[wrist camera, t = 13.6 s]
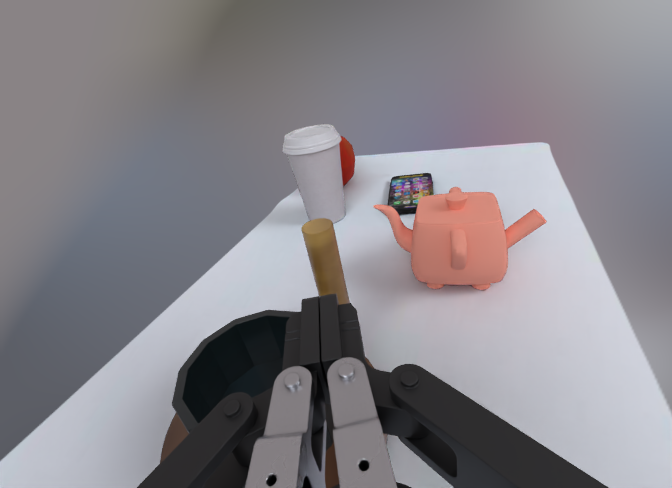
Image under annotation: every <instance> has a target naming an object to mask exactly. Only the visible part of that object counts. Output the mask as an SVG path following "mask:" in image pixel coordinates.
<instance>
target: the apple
mask: <svg viewBox="0 0 672 488" xmlns="http://www.w3.org/2000/svg"><path fill="white" fill-rule="evenodd" d="M341 139H342V140H341V142H340V143H339V147H340V159H341V170H342V181H343V186H344V185H345V184H346V183H347V182H348V181H349V180H350V179H351V178H352V176H353V174H354V166H355V156H354V152H353V148H352V145H351V144H350V143H349V142H348V141H347V140H346V139H345V138H344V137H342V136H341Z"/></svg>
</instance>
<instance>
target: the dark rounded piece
mask: <svg viewBox="0 0 672 488" xmlns="http://www.w3.org/2000/svg"><path fill="white" fill-rule="evenodd" d="M302 233H303V237H304V241H305V245H306V248H307V252H308V256H309V260H310V263H311V267H312V271H313V275H314V279H315V282H316V286H317V290H318V294H319V297H320V296H323V295H329V294H334V293H337V297H338V301H339V305H341V304H346V303H350V302H349V297H348V293H347V288H346V283H345V279H344V274H343V269H342V264H341V260H340V255H339V250H338V246H337V241H336V236H335V231H334V227H333V222H332V221H331V220H330V219H326V218H319V219H314V220H311V221H309V222H307V223H305V224H304V225H303V226H302ZM292 313H297V312H290V311H276V310H265V311H262V312H259V313H255V314H252V315H248V316H245V317H241V318H238V319H235V320H233V321H231V322H230V323H228V324H227V325H225V326H224V327H222V328H221V329H219V330H218V331H216V332H215V333H213V334H212V335H210V336H209V337H207V338H206V339H204V340H203V341H202V342H201V343H200V344H199V346H198V347H197V348H196V350H195V351H194V352H193V353H192V355H191V356H190V357H189V358H188V360H187V361H186V362H185V364H184V365H183V366H182V367H181V369H180V371H179V373H178V378H177V382H176V387H175V392H174V397H173V401H172V406H173V408H174V409H175V411H176V414H175V416H174V418H173V420H172V422H171V424H170V427H169V429H168V432H167V434H166V437H165V441H164V445H163V448H162V454H161V460H160V463H161V462H162V461H163V460H164V459H165V458H166V457H167V456H168V455H169V454H170V453H171V452H172V451H173V450H174V449H175V448H176V447H177V446H178V445H179V444H180V443H181V442H182V441H183V440H184V438H185V437H186V436H187V435H188V434H189V433H190V432H191V431H192V430H193V429H194V428H195V427H196V426H197V425H198V424H199V423H200V422H201V421H202V420H203V419H204V418H205V417H206V416H207V415H208V414H209V413H210V412H211V411H212V410H213V408H214V407H215V406H216V405H217V404H218V403H219V402H220V401H221V400H222V399H224V398H225V397H226V396H228V395H230V394H232V393H236V392H244V393H247V394H248V395H250V396H251V398H252V397H254V396H257V395H259V394H261V393H263V392H265V391H267V390H268V389H270V388H271V387H272V386H274V382H275V380H276V378H277V376H278V375H279V374H280V373H281V372H282V366H283V355H284V344H285V334H286V323H287V321H288V319H289V317H290V316H291V314H292ZM365 360H366V362H367V363H368V365H370V366H371V367H372V368H374V367H373V366H372V364H371V363H370V362H369V360H368V359H367V358H366V357H365ZM325 413H326V417H325V419H326V423H327V430H326V456H325V485H326V488H331V487H333V486H335V485H338V484H339V476H338V469H337V461H336V453H335V446H334V438H333V428H334V423H333V415H332V408H331V404H326V405H325ZM383 435H384V439H385V443H386V444H387V435H388V434H384V433H383Z"/></svg>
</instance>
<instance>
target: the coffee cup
mask: <svg viewBox="0 0 672 488" xmlns="http://www.w3.org/2000/svg"><path fill="white" fill-rule="evenodd" d="M341 140H342V139H341V136H340V135H339V133H338V132H337V131H336V130H335V128H334V126H333V125H327V124H323V125H314V126H309V127H304V128H301V129H297V130H294V131H292V132H290V133H288V134H286V135H285V142H284V144H283V153H285V154H287V157H288V159H289V162H290V165H291V168H292V171H293V173H294V176H295V179H296V182H297V185H298V188H299V191H300V194H301V197H302V199H303V202H304V205H305V208H306V211H307V214H308V217H309V220H310V221H311V220H314V219H319V218H326V219H330V220H331V221H332V222H333V223H336V222H338V221H340V220H341V219H343V218H344V216H345V214H346V213H345V202H344V192H343V181H342V170H341V159H340V147H339V143H340V142H341Z"/></svg>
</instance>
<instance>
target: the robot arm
mask: <svg viewBox="0 0 672 488" xmlns="http://www.w3.org/2000/svg"><path fill="white" fill-rule="evenodd" d="M326 404H331V408H332V415H333V423H334V428H333V438H334V446H335V453H336V461H337V469H338V476H339V484H338V485H335V486H333V487H331V488H411V487H409V486H407V485H404V484H401V483H398V482H396V481H395V477H394V473H393V470H392V466H391V462H390V458H389V454H388V450H387V447H386V443H385V439H384V435H383V433H384V434H389V435H395V436H398V438H399V439H400V441H401V442H402V443H404V444H405V445H406V446H407V447H408V448H409V449H410V450H412V451H413V452H414V453H415V454H416V455H417V456H419V457H420V458H421V459H422V460H423V461H424V462H425V463H427V464H428V465H429V466H430V467H431V468H432V469H433V470H435V471H436V472H437V473H438V474H439V475H440V476H442V477H443V478H444V479H445V480H446V481H447V482H448V483H450V484H451V485H452V486H453V487H454V488H608V487H607V486H605V485H604V484H602V483H600V482H599V481H597V480H596V479H594V478H593V477H591V476H590V475H588V474H586V473H585V472H583V471H582V470H580V469H579V468H577V467H576V466H574V465H572V464H571V463H569V462H568V461H566V460H565V459H563V458H562V457H560V456H558V455H557V454H555V453H554V452H552V451H551V450H549V449H548V448H546V447H544V446H543V445H541V444H540V443H538V442H537V441H535V440H534V439H532V438H530V437H529V436H527V435H526V434H524V433H523V432H521V431H520V430H518V429H517V428H515V427H513V426H512V425H510V424H509V423H507V422H506V421H504V420H503V419H501V418H499V417H498V416H496V415H495V414H493V413H492V412H490V411H489V410H487V409H485V408H484V407H482V406H481V405H479V404H478V403H476V402H475V401H473V400H471V399H470V398H468V397H467V396H465V395H464V394H462V393H461V392H459V391H457V390H456V389H454V388H453V387H451V386H450V385H448V384H447V383H445V382H443V381H442V380H440V379H439V378H437V377H436V376H434V375H433V374H431V373H430V372H428V371H426V370H425V369H423V368H422V367H420V366H417V365H414V364H404V365H401V366H398V367H396V368H395V369H394V370H393V371H392V372H384V371H379V370H376V369H374V368H372V367H371V366H370V365H368V363H367V362H366V360H365V354H364V348H363V342H362V336H361V331H360V326H359V321H358V316H357V311H356V309H355V308H354V307H353V306H352V304H351V303H346V304H341V305H339V301H338V297H337V293H334V294H329V295H323V296H320V298H319V296H318V297H313V298H307V299H302V309H301V312H297V313H292V314H291V316H290V317H289V319H288V321H287V323H286V334H285V344H284V355H283V366H282V372H281V373H280V374H279V375H278V376H277V378H276V380H275V382H274V386H272V387H271V388H270V389H268V390H267V391H265V392H263V393H261V394H259V395H257V396H254V397H252V398H251V396H250V395H248V394H247V393H244V392H236V393H232V394H230V395H228V396H226V397H225V398H224V399H222V400H221V401H220V402H219V403H218V404H217V405H216V406H215V407H214V408H213V410H212V411H211V412H210V413H209V414H208V415H207V416H206V417H205V418H204V419H203V420H202V421H201V422H200V423H199V424H198V425H197V426H196V427H195V428H194V429H193V430H192V431H191V432H190V433H189V434H188V435H187V436H186V437H185V438H184V440H183V441H182V442H181V443H180V444H179V445H178V446H177V447H176V448H175V449H174V450H173V451H172V452H171V453H170V454H169V455H168V456H167V457H166V458H165V459H164V460H163V461H162V462H161V463H160V464H159V465H158V466H157V467H156V468H155V469H154V471H153V472H152V473H151V474H150V475H149V476H148V477H147V478H146V479H145V480H144V481H143V482H142V483H141V484H140V485H139V486H138V487H137V488H326V485H325V456H326V430H327V423H326V419H325V417H326V413H325V405H326Z"/></svg>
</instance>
